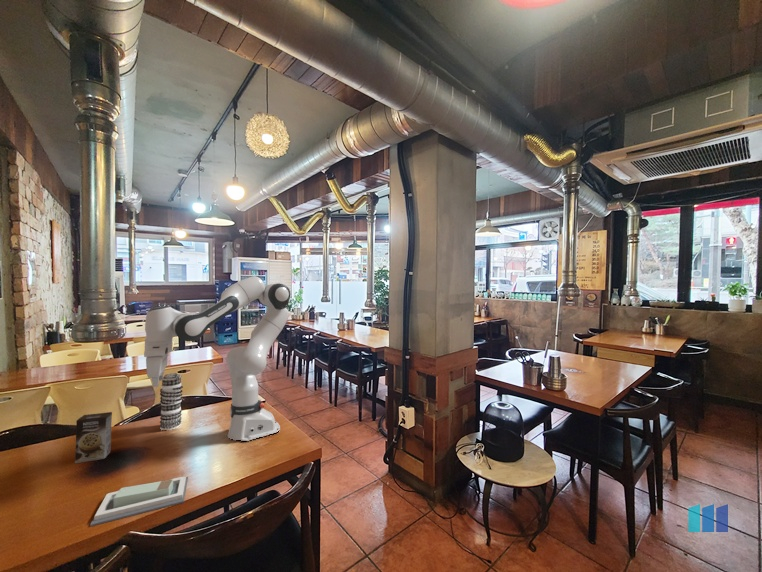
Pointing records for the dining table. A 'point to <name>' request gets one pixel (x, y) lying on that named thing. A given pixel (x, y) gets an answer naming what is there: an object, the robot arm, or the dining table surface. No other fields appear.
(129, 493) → the pale green rectangular block
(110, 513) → the picture frame
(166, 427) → the decorative candle
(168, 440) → the dining table surface
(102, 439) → the coffee box
